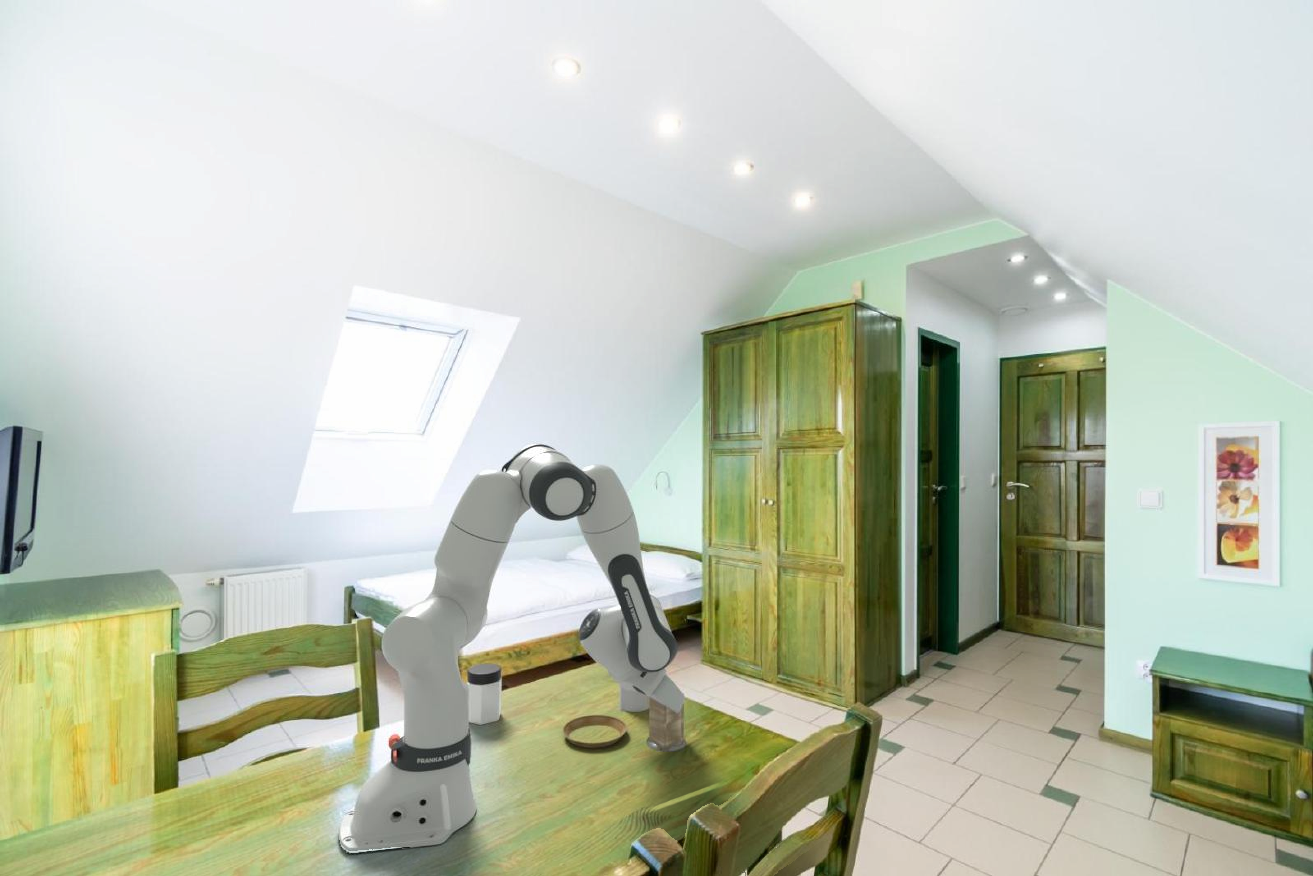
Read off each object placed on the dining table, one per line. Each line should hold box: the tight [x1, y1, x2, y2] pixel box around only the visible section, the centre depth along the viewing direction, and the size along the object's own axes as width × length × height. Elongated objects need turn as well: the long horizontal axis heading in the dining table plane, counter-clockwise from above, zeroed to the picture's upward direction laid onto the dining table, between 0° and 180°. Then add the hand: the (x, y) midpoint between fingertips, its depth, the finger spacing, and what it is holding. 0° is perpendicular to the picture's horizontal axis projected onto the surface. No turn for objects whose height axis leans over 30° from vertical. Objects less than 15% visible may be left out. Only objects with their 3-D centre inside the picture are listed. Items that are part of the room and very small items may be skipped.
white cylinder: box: [618, 685, 649, 713], centre depth 162 cm, size 8×8×12 cm
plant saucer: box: [562, 714, 628, 749], centre depth 144 cm, size 15×15×3 cm
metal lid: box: [645, 737, 687, 752], centre depth 142 cm, size 9×9×4 cm
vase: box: [648, 692, 685, 750], centre depth 142 cm, size 7×6×11 cm
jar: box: [466, 662, 503, 726], centre depth 155 cm, size 9×8×12 cm
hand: (668, 704), depth 142 cm, fingers closed on vase, 6 cm apart
